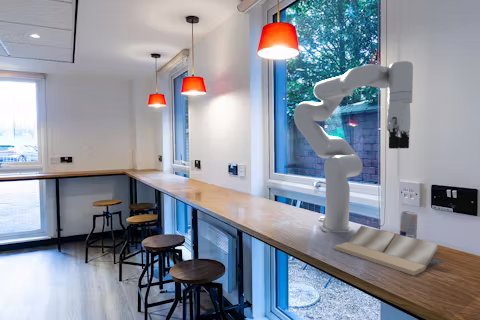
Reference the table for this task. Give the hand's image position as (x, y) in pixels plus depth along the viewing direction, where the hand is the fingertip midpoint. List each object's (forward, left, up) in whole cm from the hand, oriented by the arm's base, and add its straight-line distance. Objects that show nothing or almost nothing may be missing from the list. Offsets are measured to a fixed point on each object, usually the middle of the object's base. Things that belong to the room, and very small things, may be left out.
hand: (399, 148), depth 111 cm
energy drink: (+2, +6, -35) cm, 36 cm away
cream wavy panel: (+10, -10, -32) cm, 35 cm away
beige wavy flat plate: (-3, -10, -32) cm, 33 cm away
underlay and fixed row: (+4, -13, -35) cm, 38 cm away
